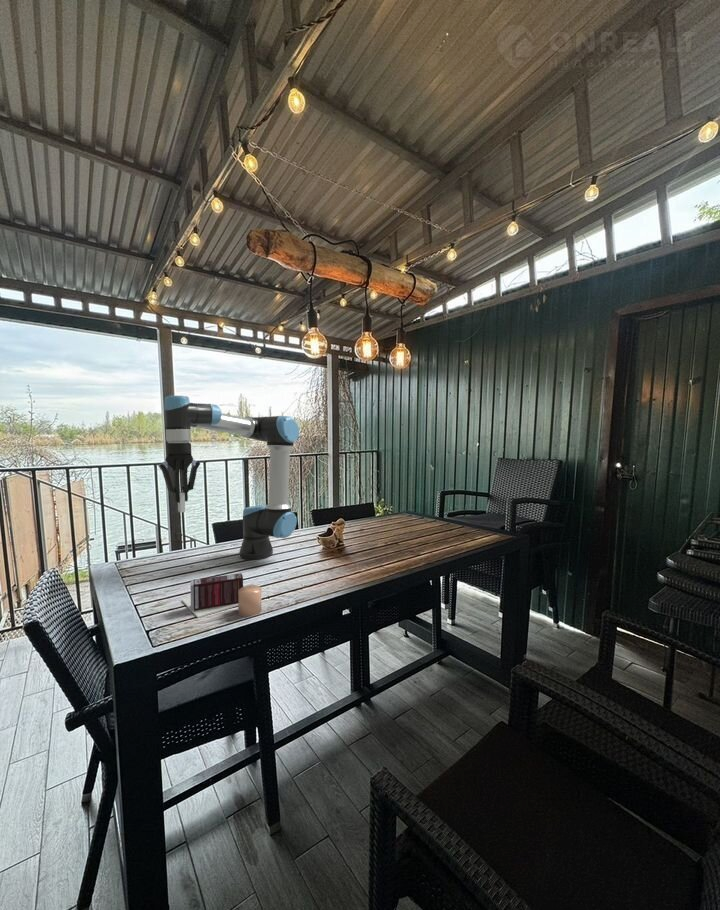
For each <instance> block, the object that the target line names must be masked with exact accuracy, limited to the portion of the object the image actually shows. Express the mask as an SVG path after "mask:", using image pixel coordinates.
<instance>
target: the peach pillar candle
mask: <svg viewBox="0 0 720 910" xmlns="http://www.w3.org/2000/svg"><path fill="white" fill-rule="evenodd" d="M237 607H238V608H237V609H238V616H239V615H240V616H242V617H254V616H256V615H258V614H260V613H261V612H262V586H260V585H255V584H251V585H245V586H244V585H243V587H242V588H240V589H239V590H238V606H237Z"/></svg>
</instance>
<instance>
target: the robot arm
mask: <svg viewBox="0 0 720 910" xmlns="http://www.w3.org/2000/svg"><path fill="white" fill-rule="evenodd" d="M163 405H164V407H163V409H164V420H165V421H164V424H165V441H166V442H167V443H166V445H165V446H166V457H165V460H164V461H163V462H161V463H158V468H159V469H160V470H161V472H162V476H163V478H164V482H165V485H166V488H167V491H168V492H170V493H174V495H173V496H174V502H175V503H176V504H177V511H178V513H186V502H188V501H189V495H188V494H189V491H193V490H194V488H195V487H194V486H195V482H196V477H197V473H198V469H199V467H200V465H201V462H200V461H197V460H195V459H194V457H193V455H192V443H191V441H192V436H191V435H192V433H191V431H192V430H191V427H192V428H199V429H204V430H209V431H210V430H211V431H217V432H223V433H230V434H235V435H241V437H243V438H245V439H252V440H255V441H259V442H264V443H266V447H268V449H269V452H270V453H269V482H268V487H269V489H268V504H261V505H260V504H258V505H252V506H248V507H245V508H244V509H243V511H242V534H243V535H242V536H243V537H242V541H241V545H240V549H239V558H241V559H242V560H246V561H247V560H248V561H249V560H251V561H254V560H262V559H267V558H270V557H272V556H273V553H274V549H273V546H272V543H271V542H272V541H271V540H270V537H272V538H273V537H274V538H276V539H286V538H288V537H290V536H291V535H292V534H293V532H294V531H295V529H296V526H297V522H298V518H297V516H296V514H295V513H294V512H292V506H291V505H290V503H289V495H290V494H289V493H290V492H289V489H290V488H289V487H290V459H291V455H290V454H291V453H290V452H291V450H292V449H293V448H294V443H295V442H296V441H297V440H298V438H299V436H300V427H299V424H298V422H297V421H296V420H295V419H294V418H293V417H292V416H288V415H277V416H276V415H274V416H258V417H257V416H255V417H253V416H244V417H241V416H238V415H237V416H236V415H233V414H232V415H231V414H227V413H223V412H222V409H221V408H220V406H219V405H217V404H212V403H197V402H196V403H195V402H190V398H189V396H187V395H167V396H166V397H165V398H164V403H163ZM190 465H191V469H190V473H189V478H188V472H189V470H188V468H189V467H190ZM168 467H170V468H171V470H172V476H173V477H172V478H173V479H172V478H171V476H170V473H169V470H168ZM180 478H181V482H180ZM171 479H172V480H173V481H172V480H171ZM172 482H173V483H172ZM180 484H181V485H180Z"/></svg>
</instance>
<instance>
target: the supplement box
mask: <svg viewBox="0 0 720 910" xmlns="http://www.w3.org/2000/svg"><path fill="white" fill-rule="evenodd" d="M242 587H244V576H243V574H242V573H233V574H225V575H218V576H212V577H204V578H203V577H202V578H196V579H191V580H190V597H191V610H190V612H192V611H195V610H201V609H207V608H213V607H218V606H224V605H230V604H236V603H238V590H239V589H240V588H242Z"/></svg>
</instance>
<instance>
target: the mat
mask: <svg viewBox="0 0 720 910" xmlns="http://www.w3.org/2000/svg"><path fill="white" fill-rule="evenodd" d="M181 601H182V603H183V604H184V605H185V606H186V607H187V608H188V610H190V611H191V596H189V597H186V598H185V597H184V598H182V599H181ZM236 607H238V603H236V604H230V605H224V606H218V607H213V608H207V609H201V610H195V611H191V612H192V613H193V615H194V616H195V617H196V618H197V619H200V618H204V617H207V616H210V615H212V614H216V613H219V612H223V611H225V610H229V609H232V608H236Z"/></svg>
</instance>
